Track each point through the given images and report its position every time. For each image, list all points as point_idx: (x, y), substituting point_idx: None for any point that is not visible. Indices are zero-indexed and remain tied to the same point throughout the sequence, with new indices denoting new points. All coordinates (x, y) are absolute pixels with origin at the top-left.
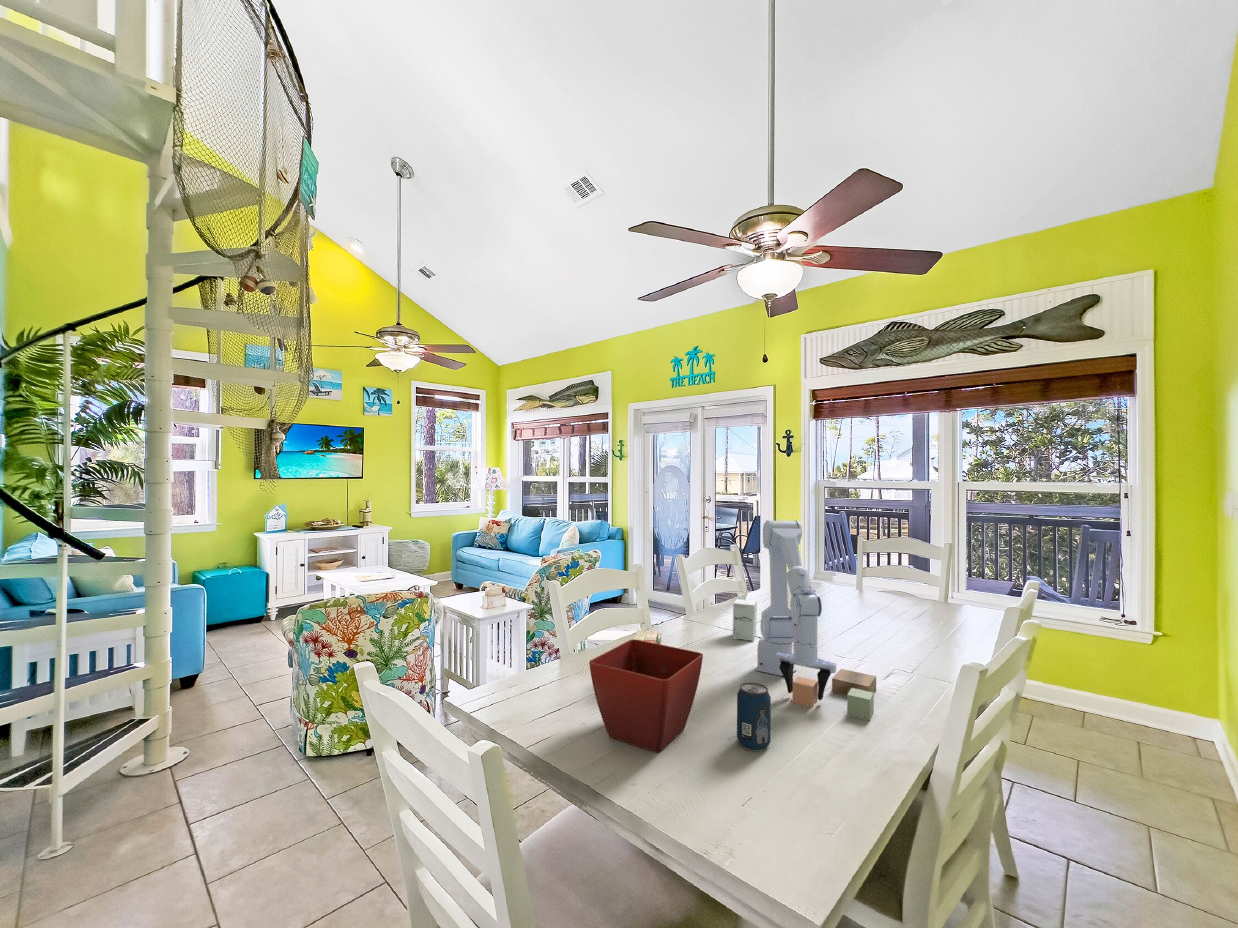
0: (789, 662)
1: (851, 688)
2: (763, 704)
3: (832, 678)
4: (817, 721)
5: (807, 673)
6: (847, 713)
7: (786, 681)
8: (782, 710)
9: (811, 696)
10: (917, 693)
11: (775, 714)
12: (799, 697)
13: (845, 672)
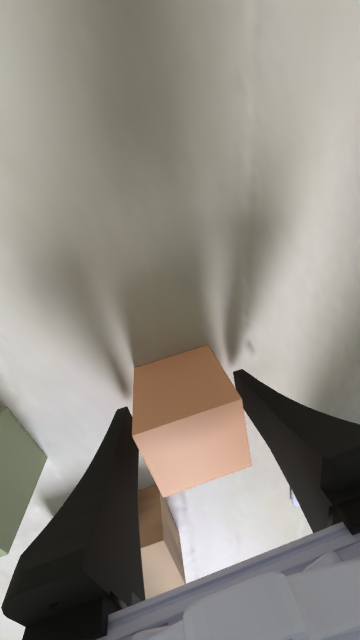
0: (354, 532)
1: (2, 551)
2: None
3: (162, 541)
4: (25, 265)
5: (262, 507)
6: (1, 413)
7: (274, 394)
8: (197, 244)
9: (139, 393)
10: None
11: (198, 171)
12: (187, 366)
13: (161, 584)
